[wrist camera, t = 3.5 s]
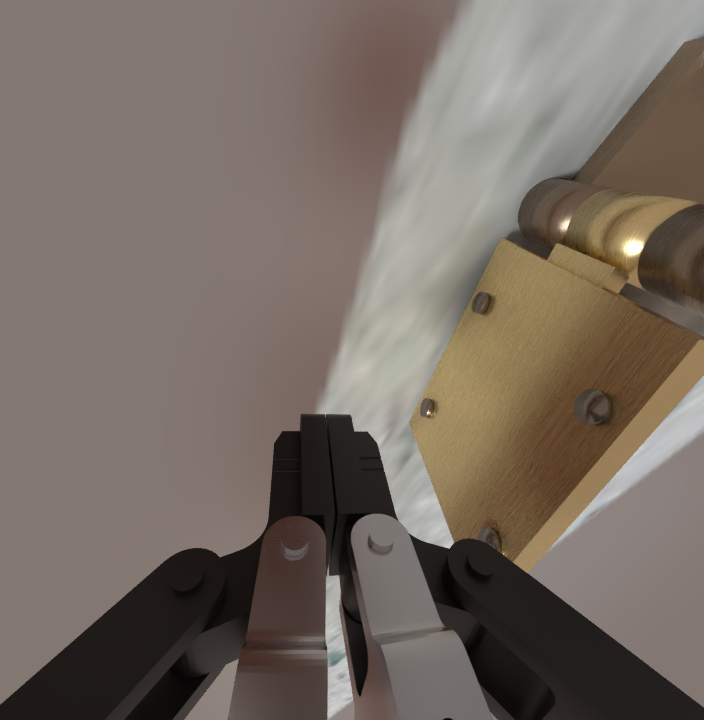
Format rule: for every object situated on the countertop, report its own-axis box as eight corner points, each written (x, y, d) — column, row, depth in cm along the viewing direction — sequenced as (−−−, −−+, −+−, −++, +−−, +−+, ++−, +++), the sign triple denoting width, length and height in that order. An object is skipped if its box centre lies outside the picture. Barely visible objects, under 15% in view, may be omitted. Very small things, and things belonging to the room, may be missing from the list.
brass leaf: (531, 164, 14) (805, 199, 6) (595, 191, 15) (907, 250, 7) (405, 421, 20) (470, 603, 12) (456, 431, 21) (549, 609, 13)
